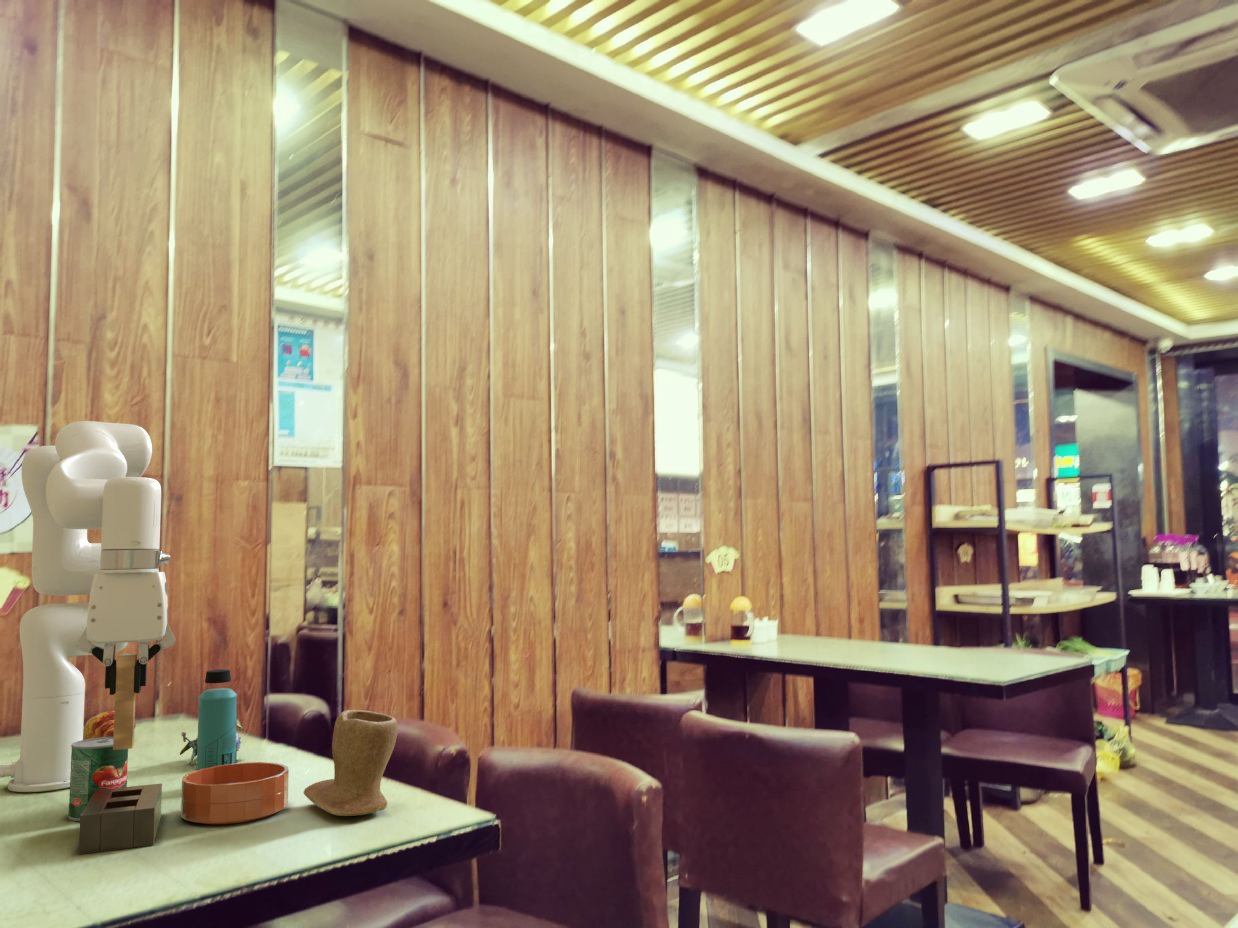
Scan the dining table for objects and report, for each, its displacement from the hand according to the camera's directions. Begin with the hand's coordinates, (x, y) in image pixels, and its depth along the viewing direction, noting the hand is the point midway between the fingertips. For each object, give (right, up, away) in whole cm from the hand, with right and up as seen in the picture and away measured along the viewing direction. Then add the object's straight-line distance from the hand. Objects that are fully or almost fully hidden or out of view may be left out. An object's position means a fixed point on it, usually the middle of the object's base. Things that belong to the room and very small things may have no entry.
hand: (125, 691), depth 131 cm
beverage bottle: (+1, -24, +28) cm, 36 cm away
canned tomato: (-11, -22, +12) cm, 27 cm away
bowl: (+11, -22, +11) cm, 27 cm away
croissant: (-41, -28, +70) cm, 86 cm away
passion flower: (-9, -26, +47) cm, 55 cm away
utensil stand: (-1, -21, +1) cm, 21 cm away
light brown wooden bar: (0, -8, -1) cm, 8 cm away
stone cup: (+29, -22, +12) cm, 38 cm away
